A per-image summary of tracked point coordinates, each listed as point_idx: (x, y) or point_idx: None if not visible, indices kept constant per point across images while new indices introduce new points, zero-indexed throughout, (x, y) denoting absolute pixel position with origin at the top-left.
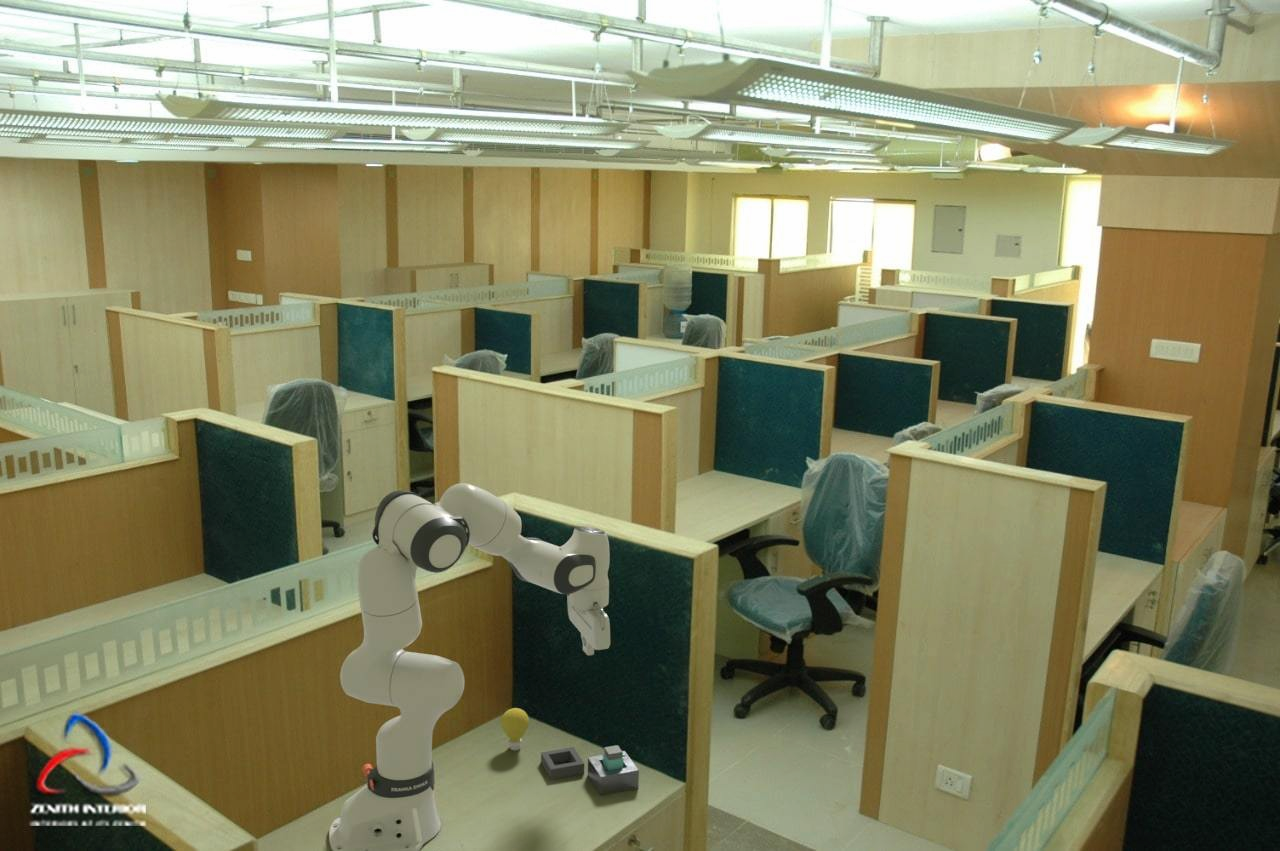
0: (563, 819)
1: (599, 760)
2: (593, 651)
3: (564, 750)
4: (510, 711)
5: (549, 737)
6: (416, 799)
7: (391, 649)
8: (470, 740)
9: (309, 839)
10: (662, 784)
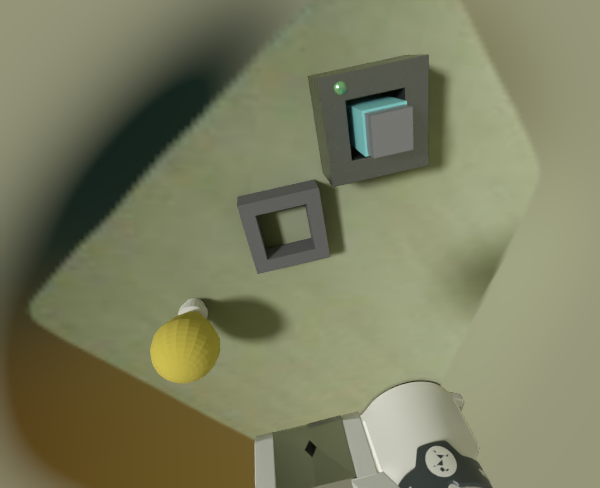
0: (459, 229)
1: (350, 159)
2: (366, 436)
3: (252, 227)
4: (188, 380)
5: (144, 243)
6: (475, 457)
7: None
8: None
9: None
10: None
